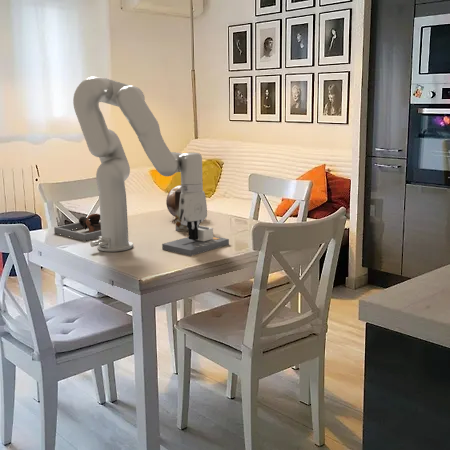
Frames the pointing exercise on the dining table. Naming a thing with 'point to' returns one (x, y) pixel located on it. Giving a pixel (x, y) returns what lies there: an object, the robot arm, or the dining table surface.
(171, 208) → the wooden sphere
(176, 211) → the coffee box
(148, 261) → the dining table surface
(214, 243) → the board
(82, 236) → the grey shallow tray
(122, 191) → the robot arm
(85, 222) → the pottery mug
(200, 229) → the fader knob
